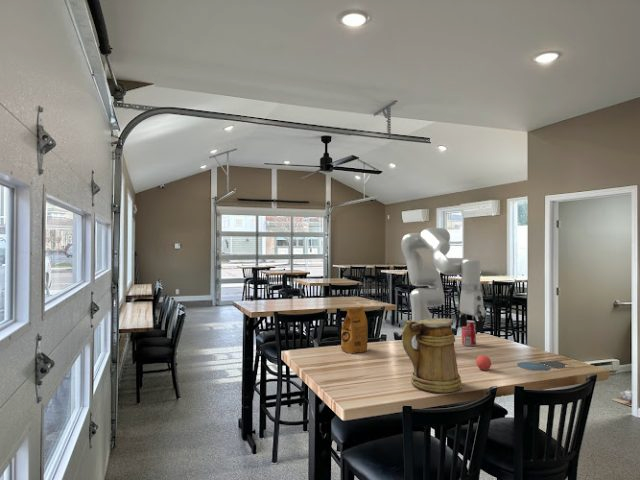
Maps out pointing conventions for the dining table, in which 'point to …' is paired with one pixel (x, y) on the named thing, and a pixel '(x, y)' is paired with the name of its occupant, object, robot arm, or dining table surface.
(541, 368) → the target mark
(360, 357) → the dining table surface
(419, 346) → the tankard
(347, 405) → the dining table surface
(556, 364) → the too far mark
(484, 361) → the ball
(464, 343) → the soda can
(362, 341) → the coffee package
